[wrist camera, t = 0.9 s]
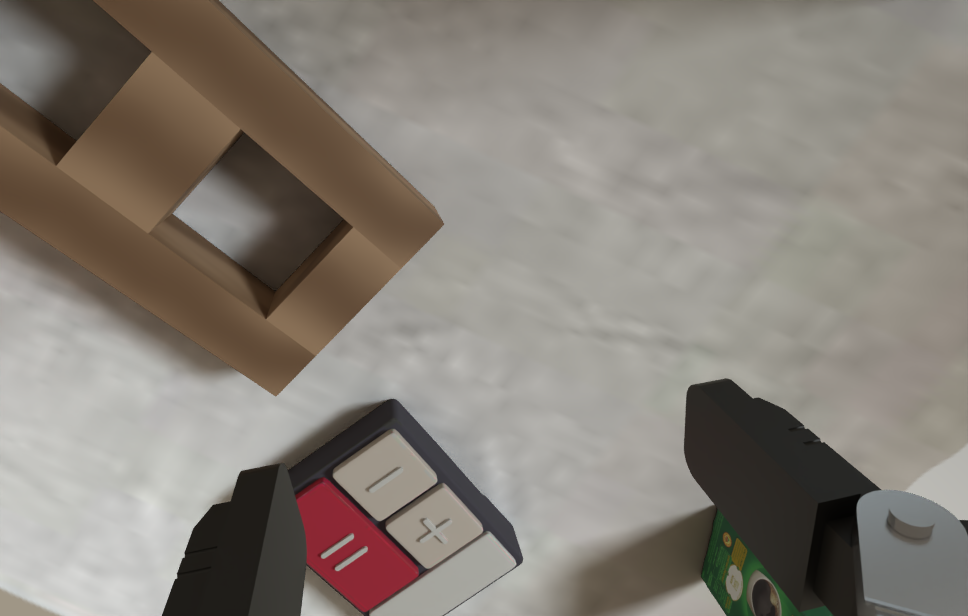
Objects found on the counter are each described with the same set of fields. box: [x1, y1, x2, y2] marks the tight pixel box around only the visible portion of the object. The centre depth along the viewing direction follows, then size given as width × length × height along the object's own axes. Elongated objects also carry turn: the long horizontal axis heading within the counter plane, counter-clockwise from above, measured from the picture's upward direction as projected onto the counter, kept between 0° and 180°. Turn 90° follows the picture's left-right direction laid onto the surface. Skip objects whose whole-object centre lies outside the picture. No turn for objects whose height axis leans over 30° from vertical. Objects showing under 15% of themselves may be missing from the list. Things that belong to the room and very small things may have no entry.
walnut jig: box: [0, 0, 444, 396], centre depth 28 cm, size 13×24×4 cm, turn 44°
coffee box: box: [701, 509, 833, 616], centre depth 43 cm, size 8×3×13 cm, turn 177°
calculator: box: [288, 399, 523, 616], centre depth 40 cm, size 11×4×15 cm
